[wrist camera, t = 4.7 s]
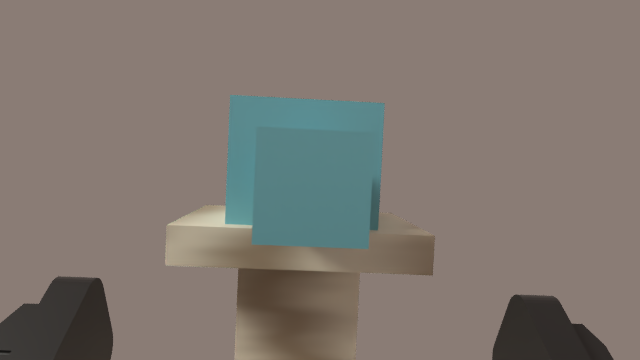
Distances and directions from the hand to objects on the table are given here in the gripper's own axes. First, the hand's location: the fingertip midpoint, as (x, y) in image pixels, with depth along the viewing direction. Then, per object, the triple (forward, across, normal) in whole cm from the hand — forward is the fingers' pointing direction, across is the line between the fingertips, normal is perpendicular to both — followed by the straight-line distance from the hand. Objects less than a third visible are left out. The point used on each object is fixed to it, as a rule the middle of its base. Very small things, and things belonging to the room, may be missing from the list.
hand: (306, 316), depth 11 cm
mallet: (+8, 0, +4) cm, 10 cm away
